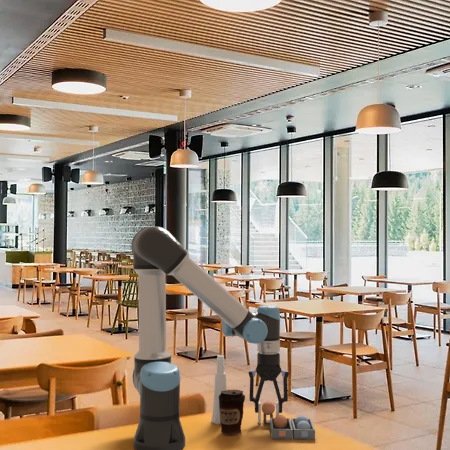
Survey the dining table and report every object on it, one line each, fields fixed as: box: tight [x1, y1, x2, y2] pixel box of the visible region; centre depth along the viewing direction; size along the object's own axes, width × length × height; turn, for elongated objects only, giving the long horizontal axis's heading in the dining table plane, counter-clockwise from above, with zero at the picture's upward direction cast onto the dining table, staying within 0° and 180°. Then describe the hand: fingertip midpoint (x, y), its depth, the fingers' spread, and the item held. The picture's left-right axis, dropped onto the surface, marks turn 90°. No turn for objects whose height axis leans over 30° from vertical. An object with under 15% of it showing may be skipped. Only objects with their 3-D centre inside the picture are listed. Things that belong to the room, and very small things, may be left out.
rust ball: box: [273, 414, 287, 429], centre depth 196 cm, size 4×4×4 cm
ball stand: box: [262, 413, 274, 426], centre depth 203 cm, size 3×3×3 cm
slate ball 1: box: [295, 414, 309, 427], centre depth 196 cm, size 4×4×4 cm
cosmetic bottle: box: [210, 354, 228, 425], centre depth 205 cm, size 6×6×22 cm
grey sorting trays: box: [269, 417, 316, 441], centre depth 193 cm, size 13×12×3 cm
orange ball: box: [261, 400, 276, 416], centre depth 204 cm, size 4×4×4 cm
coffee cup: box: [219, 389, 246, 436], centre depth 193 cm, size 9×8×13 cm
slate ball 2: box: [296, 421, 311, 430], centre depth 190 cm, size 4×4×4 cm
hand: (268, 422), depth 203 cm, fingers open, 5 cm apart
